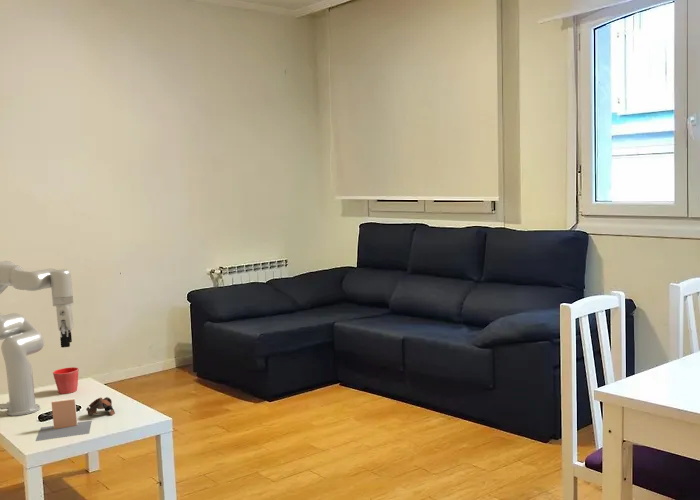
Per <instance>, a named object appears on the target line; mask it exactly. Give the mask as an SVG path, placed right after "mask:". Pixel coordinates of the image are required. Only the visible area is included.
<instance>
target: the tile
mask: <svg viewBox="0 0 700 500" xmlns="http://www.w3.org/2000/svg"><path fill="white" fill-rule="evenodd" d="M76 405H77V404H76V398H75V397H72V398H65V399H64V398H63V399H55V400H51V411H52V421H53V426H54V429H57V428H64V427H72V426H77V423H78V415H77V406H76Z"/></svg>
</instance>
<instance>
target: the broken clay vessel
mask: <svg viewBox="0 0 700 500" xmlns="http://www.w3.org/2000/svg"><path fill="white" fill-rule="evenodd" d="M112 402H113V401H112V399H111V398H110V397H108V396H106V397H104V398H103V397H99V398H97V399H95V400H94V401H92V402H91V403H90V404H89V405H88V406H87V408H86V409H85V410H86V412H87V416H92V415H93V414H96V415H97V414H98V413H97V412H98V411H97V410H104V411H105V412H109V415H110V416H114V415H115V414H116V413H115V409H114V408H113V405H112Z"/></svg>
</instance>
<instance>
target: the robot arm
mask: <svg viewBox="0 0 700 500" xmlns="http://www.w3.org/2000/svg"><path fill="white" fill-rule="evenodd" d="M8 287H12V288H14V289H16V290H20V291H28V292H29V291H31V292H35V291H41V290H44V289H50V288H51V299H52V306H53V307H55V309H56V310H55V311H56V320H57V329H58V331H59V333H60V339H59V340H60V348H69V347H71V344H70V343H72V341H73V340H72V330H73V328H74V321H73V320H74V318H73V309H72V305H74V296H73V283H72V273H71V270H69V269H67V268H66V269H65V268H61V269H55V268H44V269H39V270H38V269H37V270H34V271H33V270H32V271H27V270H25V271H24V268H22V267H21V266H20V265H17V264H15V263H13V262H12V261H8V260H7V261H6V260H3V261H0V295H1V294H3V292H4V291H5V290H6V289H7V288H8ZM0 340H1V341H2V340H3V341H2V342H1V346H0V350H1V353H2V357H3V359H4V363H5V364H4V365H5V371H6V372H5V373H6V380H7V388H8V389H7V390H8V398H9V399H8V400H9V401H8V402H6V403H0V410H1V411H2V410H5V409H6V411H5V412H6V415H8V416H13V417H14V416H25V415H29V414H33V413H35V412H37V411H39V410H40V409H41V405H40V404H37V403H36V396H35V395H36V394H35V386H34V385H35V384H34V375H33V367H32V363H31V361H30V360H29V359H28V356H29V355H32V354H36V353H38V352H41V350H43V348H44V346H45V340H44V337H43V335H42V333H41V332H40V331H39V330H38V329H37V328H36V327H35V326H34V325H33V324H32V323H31V321H29V320H28V319H27V317H25V316H24V315H22V314H20V313H14V312H13V313H8V314H2V313H1V312H0Z"/></svg>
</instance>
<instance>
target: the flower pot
mask: <svg viewBox="0 0 700 500" xmlns="http://www.w3.org/2000/svg"><path fill="white" fill-rule="evenodd" d="M52 375H53V378H54V382H55V385H56V389H57V392H58V394H60V395H66V394H67V395H69V394H71V393H75V392H78V391H77V390H78V385H79V383H78V382H79V367H74V366H73V367H65V368H64V367H63V368H58V369H57V370H54V371H53V372H52Z"/></svg>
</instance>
